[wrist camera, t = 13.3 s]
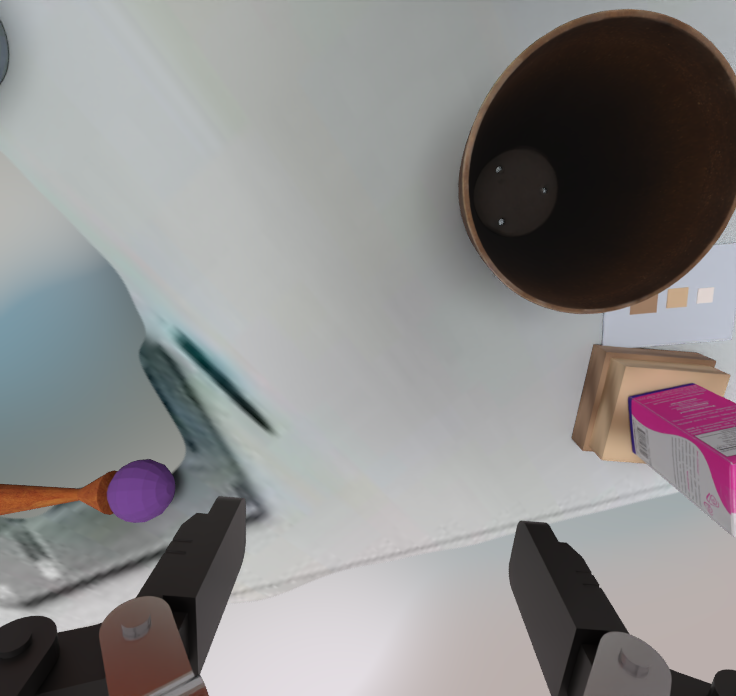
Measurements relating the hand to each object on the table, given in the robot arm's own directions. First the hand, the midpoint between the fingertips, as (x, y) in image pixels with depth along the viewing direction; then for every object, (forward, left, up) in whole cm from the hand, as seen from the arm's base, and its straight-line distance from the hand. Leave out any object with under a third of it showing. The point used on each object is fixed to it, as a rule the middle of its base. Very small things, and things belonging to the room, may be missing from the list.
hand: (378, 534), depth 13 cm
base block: (+6, +26, -30) cm, 40 cm away
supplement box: (+6, +26, -25) cm, 37 cm away
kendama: (+21, -29, -31) cm, 47 cm away
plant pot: (-12, +11, -30) cm, 34 cm away
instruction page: (-4, +27, -30) cm, 41 cm away
